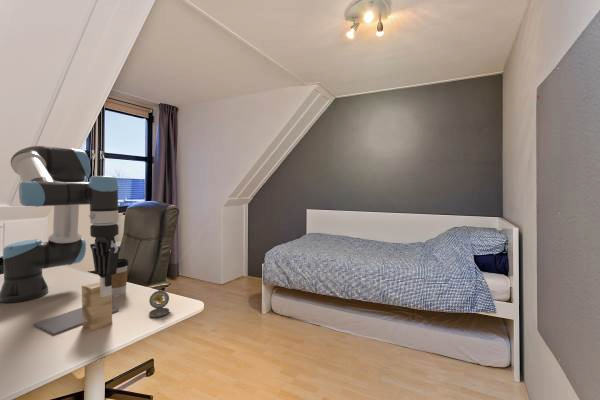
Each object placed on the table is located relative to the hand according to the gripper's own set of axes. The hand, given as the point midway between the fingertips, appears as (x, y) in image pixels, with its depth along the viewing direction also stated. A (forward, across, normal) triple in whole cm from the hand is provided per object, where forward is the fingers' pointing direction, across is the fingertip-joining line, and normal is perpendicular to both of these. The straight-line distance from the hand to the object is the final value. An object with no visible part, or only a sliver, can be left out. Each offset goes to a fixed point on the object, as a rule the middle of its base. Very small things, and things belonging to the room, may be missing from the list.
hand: (106, 295), depth 92 cm
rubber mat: (+11, -17, 0) cm, 21 cm away
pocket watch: (+11, +5, +16) cm, 20 cm away
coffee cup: (+12, -28, +20) cm, 36 cm away
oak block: (+11, -5, 0) cm, 12 cm away
